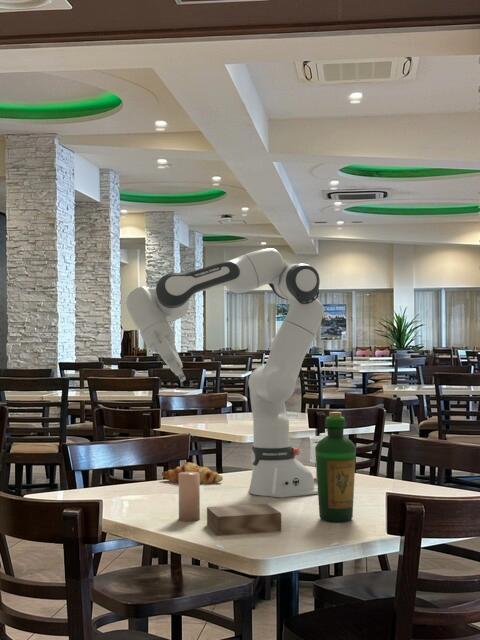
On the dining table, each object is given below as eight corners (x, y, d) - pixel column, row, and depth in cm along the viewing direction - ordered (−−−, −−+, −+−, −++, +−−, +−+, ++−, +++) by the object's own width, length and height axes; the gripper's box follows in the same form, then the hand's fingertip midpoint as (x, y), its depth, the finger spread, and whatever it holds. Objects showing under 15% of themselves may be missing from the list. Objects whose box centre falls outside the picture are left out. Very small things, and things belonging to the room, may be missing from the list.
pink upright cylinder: (197, 516, 217) (197, 471, 218) (201, 520, 212) (201, 474, 212) (177, 517, 216) (176, 472, 216) (180, 521, 211) (180, 475, 211)
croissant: (224, 492, 271) (227, 469, 274) (218, 482, 262) (221, 459, 266) (163, 488, 275) (167, 466, 279) (155, 479, 267) (159, 456, 271)
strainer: (334, 477, 279) (333, 433, 279) (325, 480, 273) (324, 435, 273) (315, 475, 282) (315, 432, 283) (306, 478, 276) (306, 434, 277)
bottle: (346, 525, 206) (345, 414, 206) (308, 520, 211) (307, 413, 212) (363, 517, 215) (362, 411, 215) (326, 513, 220) (325, 410, 221)
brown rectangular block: (267, 521, 211) (266, 503, 211) (281, 531, 200) (281, 512, 200) (207, 524, 207) (207, 507, 207) (218, 535, 195) (217, 516, 195)
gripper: (162, 323, 229) (185, 365, 226) (173, 339, 249) (195, 378, 245) (143, 334, 229) (165, 376, 225) (155, 349, 248) (176, 388, 245)
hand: (181, 377), depth 235 cm, fingers open, 8 cm apart
